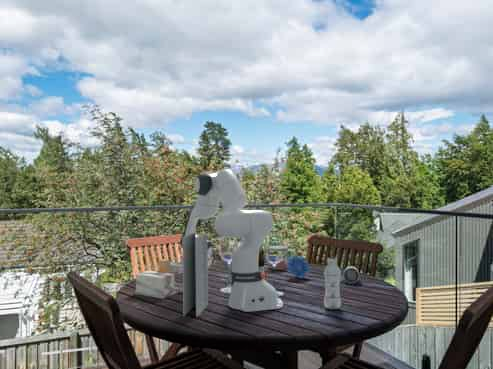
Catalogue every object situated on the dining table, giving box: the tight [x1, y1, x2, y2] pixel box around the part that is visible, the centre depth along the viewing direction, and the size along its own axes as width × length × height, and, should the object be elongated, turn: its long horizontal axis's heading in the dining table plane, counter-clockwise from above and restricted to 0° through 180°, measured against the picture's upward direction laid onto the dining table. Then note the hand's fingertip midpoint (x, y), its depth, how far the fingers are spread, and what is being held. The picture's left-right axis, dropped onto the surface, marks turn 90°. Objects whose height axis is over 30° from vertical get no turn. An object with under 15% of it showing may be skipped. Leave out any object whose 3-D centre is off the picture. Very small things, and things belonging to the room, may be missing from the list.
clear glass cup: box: [267, 245, 289, 270], centre depth 239 cm, size 11×11×12 cm
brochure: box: [181, 232, 209, 318], centre depth 160 cm, size 14×6×30 cm, turn 168°
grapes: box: [287, 254, 310, 279], centre depth 211 cm, size 12×7×12 cm, turn 85°
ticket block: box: [134, 270, 183, 300], centre depth 191 cm, size 22×17×9 cm
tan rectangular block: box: [158, 258, 172, 274], centre depth 191 cm, size 4×4×13 cm
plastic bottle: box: [323, 257, 342, 310], centre depth 161 cm, size 6×7×20 cm
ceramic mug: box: [340, 265, 360, 284], centre depth 204 cm, size 11×8×8 cm
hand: (170, 271), depth 194 cm, fingers open, 8 cm apart
